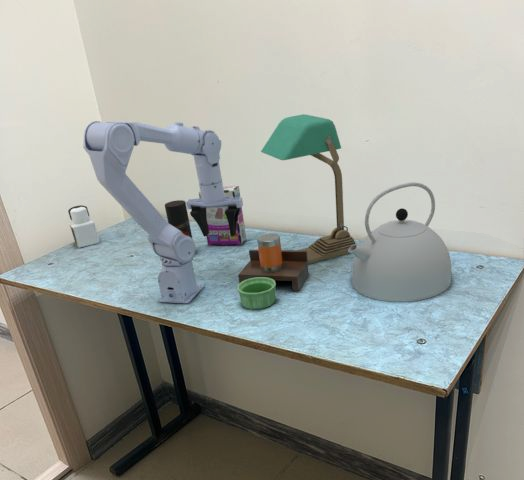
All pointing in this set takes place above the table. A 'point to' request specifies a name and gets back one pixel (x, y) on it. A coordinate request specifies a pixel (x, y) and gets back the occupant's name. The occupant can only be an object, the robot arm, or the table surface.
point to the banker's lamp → (313, 143)
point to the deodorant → (178, 216)
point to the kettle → (401, 258)
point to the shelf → (291, 271)
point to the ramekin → (257, 292)
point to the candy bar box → (224, 223)
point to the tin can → (270, 253)
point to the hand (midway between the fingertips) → (219, 235)
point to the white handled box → (82, 227)
